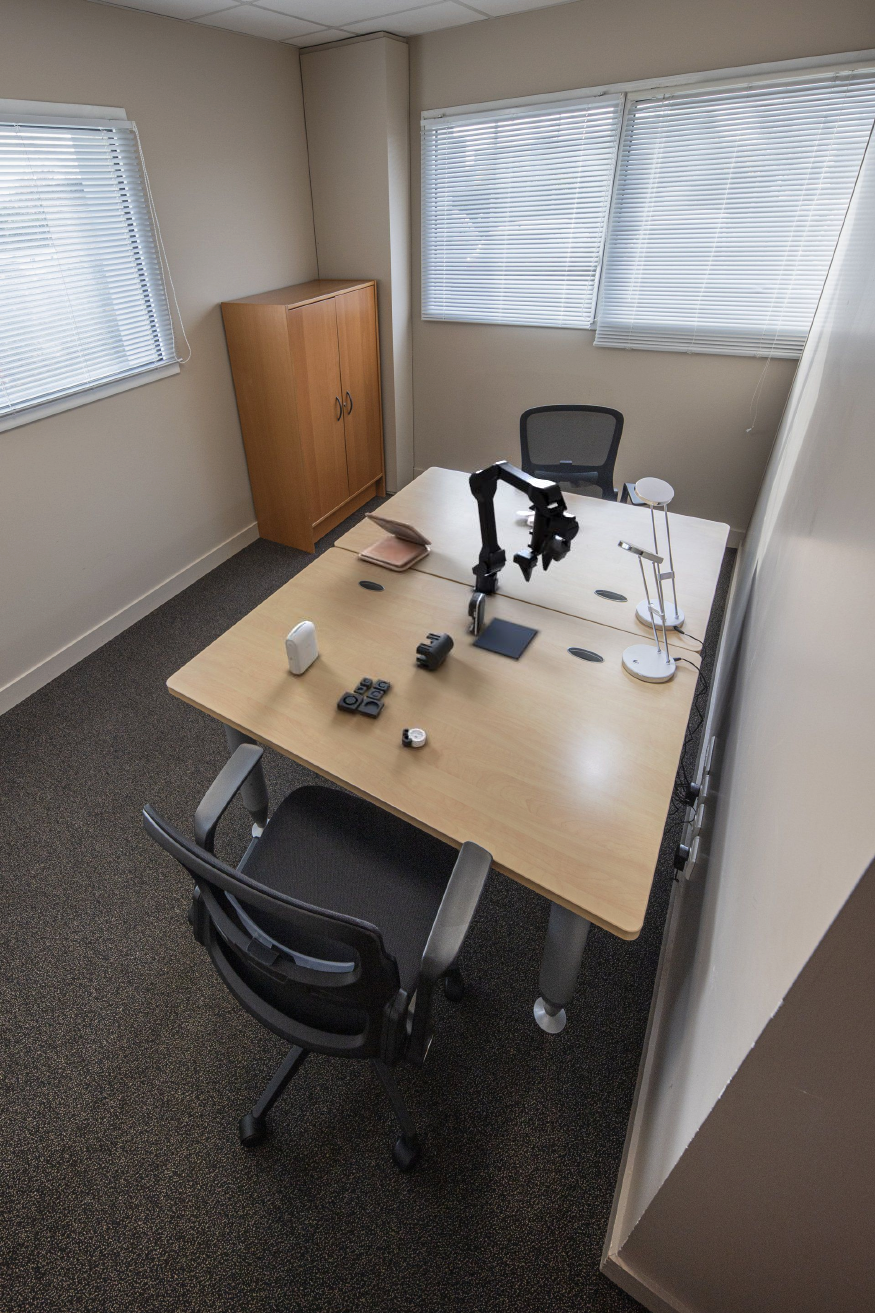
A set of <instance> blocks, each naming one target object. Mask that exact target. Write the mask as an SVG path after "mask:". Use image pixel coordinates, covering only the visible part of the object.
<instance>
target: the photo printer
mask: <svg viewBox="0 0 875 1313" xmlns="http://www.w3.org/2000/svg"><path fill="white" fill-rule="evenodd" d="M315 627H316V626H315V625H314V623H313V622H311V621H308V620H305V621H302V622H300V623H299V624H297V625H296V626H295V627H294V628H293V629H292V630H291V631H290V632H289V633H288V635H287V637H286V639H285V641H284V645H285V650H286V656H287V661H288V667H289V671H290V672H291V673H292V674H294V675H301V674H303V673H304V672H305V671H306V670H307V669H308V668H309V667H310V666H311V665H312V664H313V663H314V661H315V660H316V659H317V658H318V656H319V650H318V649H319V648H318V642H317V633H316V628H315Z"/></svg>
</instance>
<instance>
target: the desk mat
mask: <svg viewBox="0 0 875 1313" xmlns="http://www.w3.org/2000/svg"><path fill="white" fill-rule="evenodd" d="M537 633H538V629H535V628H531V627H527V626H524V625H521V624H517V623H515V622H512V621H508V620H504V619H500V618H497V617H494V618H493V619H492V621H491V622H490V623H489V624H488V625H487V627H486V628H485V629H484V630H483V631H482V632H481V634H479V636H477V638H476V639H475V641H473V643H472V646H474V647H477V648H480V649H484V650H487V651H490V652H493V653H496V654H500V655H502V656H505V657H510V658H512V659H514V660H518V659H519V657H520V656H521V655H522V653H523V652H524V650H525V649H527V646H528V645H529V644H530V642H531V641H532V639H533V638H534V636H535V635H536V634H537Z"/></svg>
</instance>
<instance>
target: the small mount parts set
mask: <svg viewBox="0 0 875 1313" xmlns="http://www.w3.org/2000/svg"><path fill="white" fill-rule="evenodd" d="M372 685H373V686H372ZM390 687H391V681H387V680H383V679H380V678H378V679H377V680H376V681H375V683H374V679H373V678H369V677H365V676H363V677H362V679H361V680H360V681H359V684H358V685H356V687H355V688H354V689H353V693H352V692H349V691H345V693H344V694H343V695H342V696H341V697H340V699H339V700H338V701H337V703H336V709H338V710H341V711H344V712H348V713H350V714H354V715H355V714H356V713H358V714H361V715H364V716H368V717H371V718H375V719H376V718H377V717H378V716H379V714H380V713H381V712H382V710H383V708H384V707H385V702H383V701H380V699H381V698H382V697H383V695H384V694H386V693H387V692H388V690H389V689H390ZM369 689H370V690H369ZM367 690H369V691H368V692H367V694H366V695H365V697H364V694H365V693H366V691H367ZM364 698H365V699H364ZM401 733H402V735H401V736H402V737H401V745H402V746H403V747H405V748H410V747H414V748H419V747H420V748H421V747H422V746H424V744H425V743H426V732H425V731H424V730H423V729H421V728H412V729H409V728H403V729H402V732H401Z"/></svg>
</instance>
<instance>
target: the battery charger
mask: <svg viewBox="0 0 875 1313" xmlns="http://www.w3.org/2000/svg"><path fill="white" fill-rule="evenodd" d="M486 595H487V594H483V593H480V592H474V593H473V595H472V596H471V598H470V599H469V602H468V607H467V616H468V617H470V618H471V619H472V621H473V622H472V624H471V626H470V628H469V630H468V632H469V633H470V634H472V635H480V632H481V630H482V628H483V626H484V624H485V612H486V597H487V596H486Z"/></svg>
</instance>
